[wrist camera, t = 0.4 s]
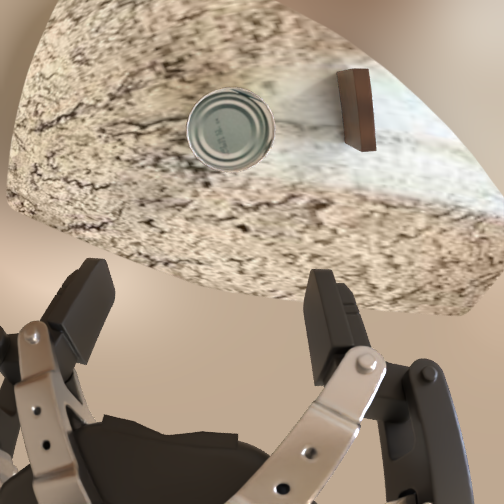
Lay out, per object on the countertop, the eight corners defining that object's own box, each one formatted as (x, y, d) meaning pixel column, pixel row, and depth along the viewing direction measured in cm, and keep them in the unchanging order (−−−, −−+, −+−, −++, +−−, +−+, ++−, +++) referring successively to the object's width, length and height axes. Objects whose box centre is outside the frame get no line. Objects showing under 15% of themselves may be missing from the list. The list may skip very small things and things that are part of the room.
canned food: (241, 161, 36) (240, 189, 26) (192, 128, 34) (169, 142, 24) (278, 114, 33) (293, 122, 23) (228, 79, 31) (220, 70, 20)
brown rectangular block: (336, 71, 30) (352, 68, 25) (350, 71, 30) (368, 68, 25) (345, 143, 35) (361, 152, 30) (358, 142, 35) (376, 151, 30)
